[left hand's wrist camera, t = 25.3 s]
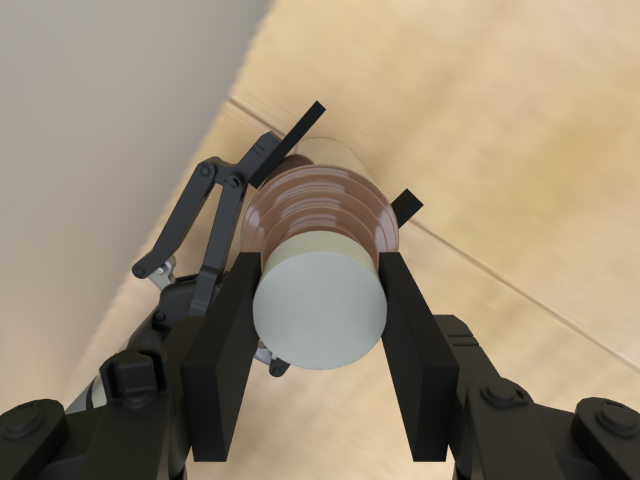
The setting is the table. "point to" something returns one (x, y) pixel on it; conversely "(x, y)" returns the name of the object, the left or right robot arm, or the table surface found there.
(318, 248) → the cap
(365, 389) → the table surface
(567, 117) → the table surface
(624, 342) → the table surface
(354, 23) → the table surface
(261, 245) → the bottle
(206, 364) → the left robot arm
